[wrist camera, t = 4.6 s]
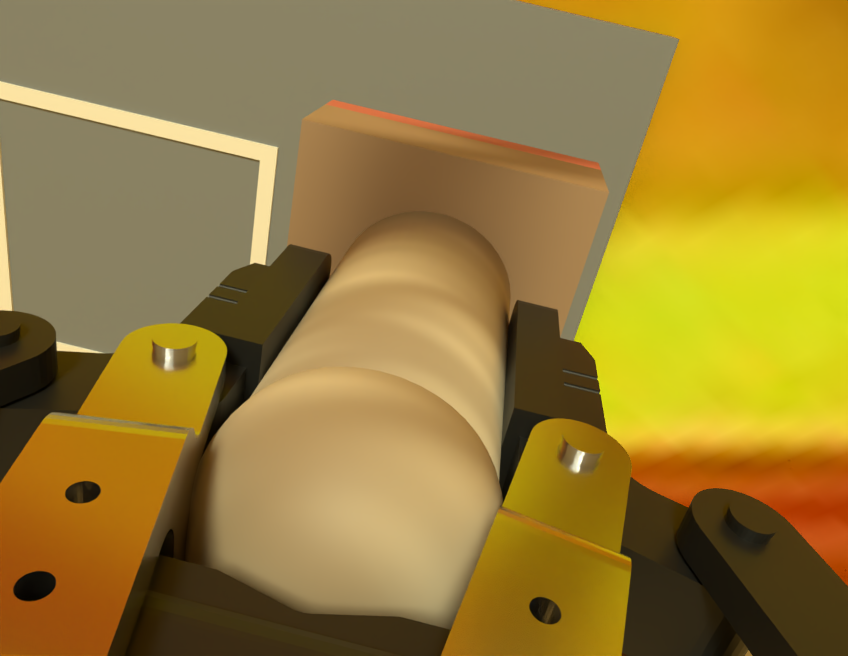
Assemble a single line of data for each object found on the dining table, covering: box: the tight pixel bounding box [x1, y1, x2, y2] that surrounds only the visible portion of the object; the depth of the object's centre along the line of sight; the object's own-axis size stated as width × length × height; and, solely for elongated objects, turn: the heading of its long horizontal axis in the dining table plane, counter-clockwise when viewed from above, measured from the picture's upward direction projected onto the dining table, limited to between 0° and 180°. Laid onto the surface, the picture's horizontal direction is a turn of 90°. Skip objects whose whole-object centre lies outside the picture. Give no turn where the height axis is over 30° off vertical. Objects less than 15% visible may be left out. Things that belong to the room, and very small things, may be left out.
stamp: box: [185, 100, 609, 630], centre depth 11 cm, size 6×6×10 cm
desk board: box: [0, 0, 679, 353], centre depth 27 cm, size 24×20×2 cm
